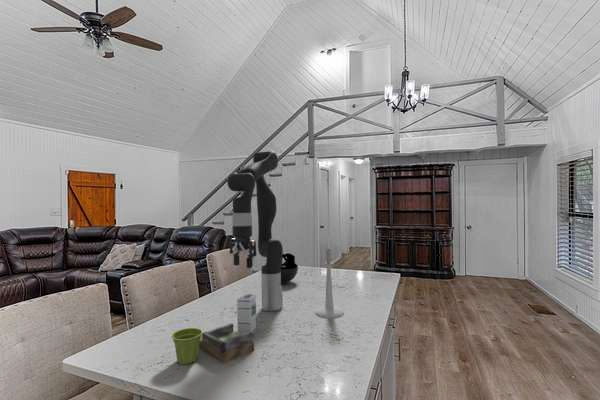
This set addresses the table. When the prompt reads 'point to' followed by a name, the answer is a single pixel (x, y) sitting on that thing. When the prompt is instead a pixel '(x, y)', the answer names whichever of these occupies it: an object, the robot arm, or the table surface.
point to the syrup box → (246, 314)
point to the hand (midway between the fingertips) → (242, 266)
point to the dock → (226, 343)
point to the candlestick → (329, 294)
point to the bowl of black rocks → (288, 268)
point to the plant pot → (187, 344)
